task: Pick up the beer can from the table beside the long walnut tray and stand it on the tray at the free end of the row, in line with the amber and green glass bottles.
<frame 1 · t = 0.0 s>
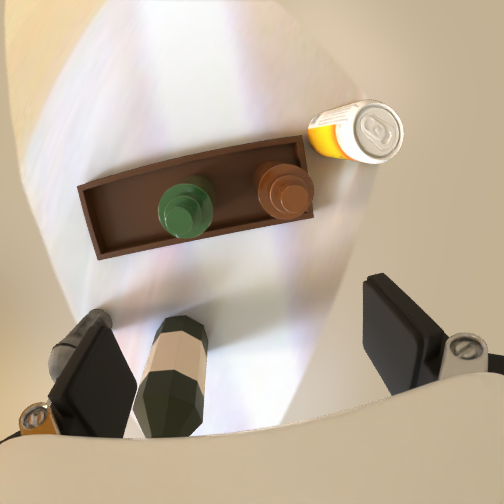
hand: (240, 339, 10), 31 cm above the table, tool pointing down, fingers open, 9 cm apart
beverage cup: (100, 320, 45), on the table
beer can: (327, 134, 38), on the table
amber bottle: (272, 180, 39), resting on tray
tray: (192, 195, 39), on the table
wine bottle: (182, 336, 47), on the table
green bottle: (195, 195, 39), resting on tray
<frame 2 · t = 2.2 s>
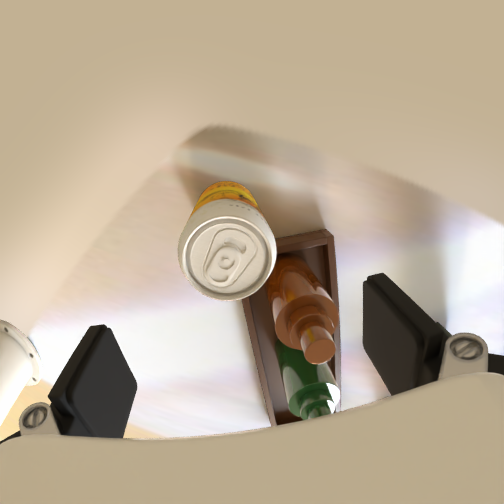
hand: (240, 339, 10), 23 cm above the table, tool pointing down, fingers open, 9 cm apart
beer can: (226, 208, 32), on the table
amber bottle: (286, 275, 34), resting on tray
tray: (295, 346, 38), on the table
green bottle: (295, 346, 38), resting on tray
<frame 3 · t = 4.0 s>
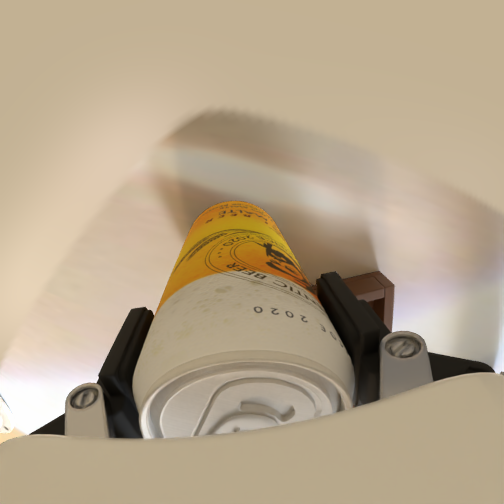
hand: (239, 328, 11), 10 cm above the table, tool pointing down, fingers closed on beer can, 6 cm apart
beer can: (234, 243, 21), on the table, touching gripper
tray: (322, 413, 27), on the table
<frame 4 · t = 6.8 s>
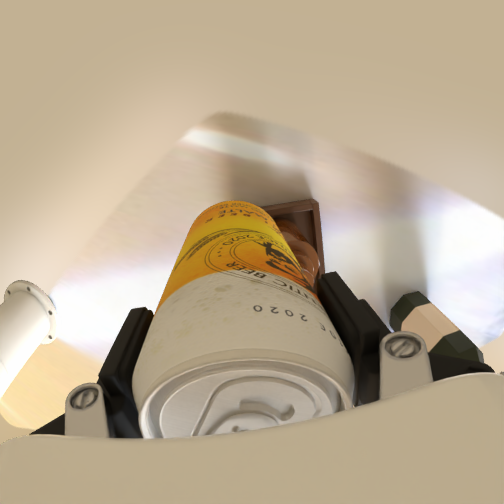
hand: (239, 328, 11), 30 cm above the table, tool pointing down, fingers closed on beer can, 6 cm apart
beer can: (233, 242, 21), point 20 cm above the table, touching gripper
amber bottle: (279, 237, 41), resting on tray
tray: (287, 303, 45), on the table
wine bottle: (408, 311, 48), on the table
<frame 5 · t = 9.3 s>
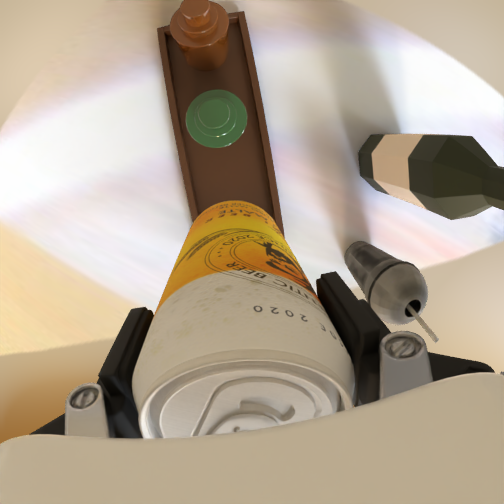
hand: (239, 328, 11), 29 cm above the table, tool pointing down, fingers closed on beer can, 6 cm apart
beverage cup: (358, 255, 43), on the table
beer can: (233, 242, 21), point 19 cm above the table, touching gripper
amber bottle: (206, 51, 31), resting on tray
tray: (220, 129, 36), on the table
wine bottle: (383, 161, 38), on the table
green bottle: (219, 125, 35), resting on tray
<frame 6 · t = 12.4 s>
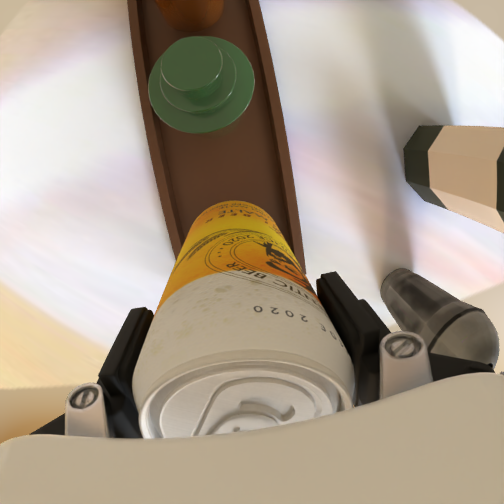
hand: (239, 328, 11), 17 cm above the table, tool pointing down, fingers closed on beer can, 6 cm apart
beverage cup: (397, 286, 31), on the table
beer can: (233, 242, 21), point 7 cm above the table, touching gripper
amber bottle: (193, 6, 20), resting on tray
tray: (212, 112, 24), on the table
wine bottle: (433, 162, 27), on the table
green bottle: (211, 106, 23), resting on tray
when the fingers open (11 cm above the table, at t = 14.7 s): beer can stays where it is, resting on tray.
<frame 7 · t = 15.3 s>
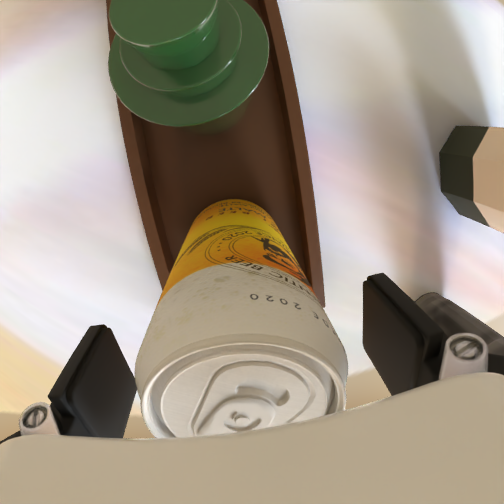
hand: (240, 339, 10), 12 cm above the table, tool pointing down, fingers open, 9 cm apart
beverage cup: (424, 312, 25), on the table
beer can: (233, 240, 21), resting on tray
tray: (208, 103, 18), on the table
wine bottle: (469, 169, 21), on the table
green bottle: (206, 95, 18), resting on tray
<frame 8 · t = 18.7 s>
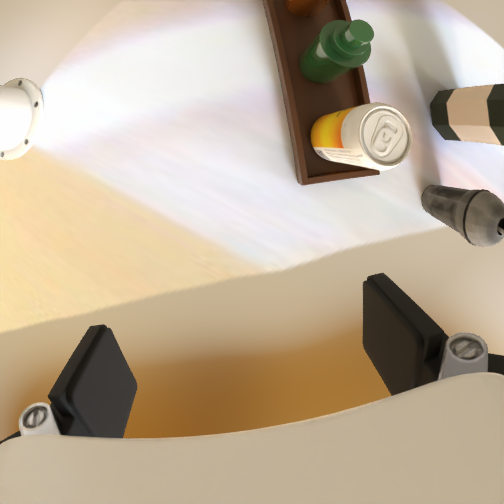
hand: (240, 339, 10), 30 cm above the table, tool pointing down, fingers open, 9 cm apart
beverage cup: (432, 199, 41), on the table
beer can: (331, 137, 37), resting on tray
amber bottle: (303, 1, 30), resting on tray
tray: (318, 69, 34), on the table
wine bottle: (448, 115, 37), on the table
green bottle: (318, 64, 33), resting on tray
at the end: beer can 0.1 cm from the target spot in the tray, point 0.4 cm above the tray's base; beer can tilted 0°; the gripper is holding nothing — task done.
